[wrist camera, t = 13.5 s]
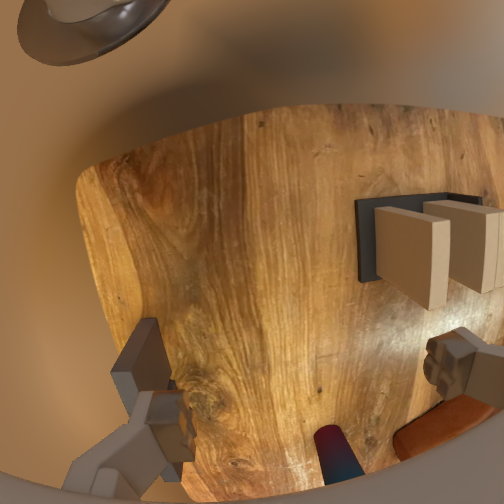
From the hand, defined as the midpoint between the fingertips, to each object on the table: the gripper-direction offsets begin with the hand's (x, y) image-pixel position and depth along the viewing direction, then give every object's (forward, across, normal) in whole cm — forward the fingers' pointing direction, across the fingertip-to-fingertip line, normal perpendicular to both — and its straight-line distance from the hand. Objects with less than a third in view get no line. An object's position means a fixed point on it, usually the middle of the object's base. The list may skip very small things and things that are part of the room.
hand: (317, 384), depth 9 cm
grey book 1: (+30, +15, +15) cm, 37 cm away
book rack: (+30, -22, +4) cm, 37 cm away
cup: (+30, -9, +38) cm, 49 cm away
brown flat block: (+29, -17, +4) cm, 34 cm away
